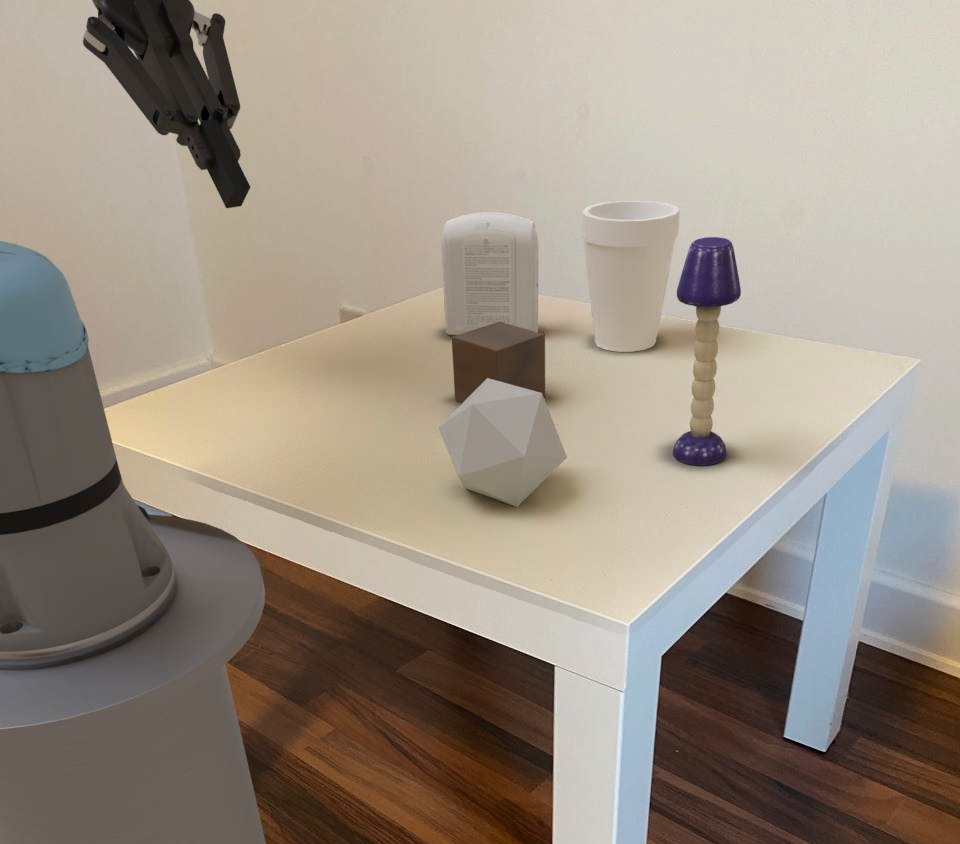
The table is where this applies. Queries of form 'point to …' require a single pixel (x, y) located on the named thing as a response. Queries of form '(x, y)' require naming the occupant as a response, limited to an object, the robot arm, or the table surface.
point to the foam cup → (628, 269)
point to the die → (502, 441)
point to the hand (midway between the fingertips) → (238, 197)
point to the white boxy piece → (490, 272)
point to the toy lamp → (706, 340)
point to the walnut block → (498, 358)
